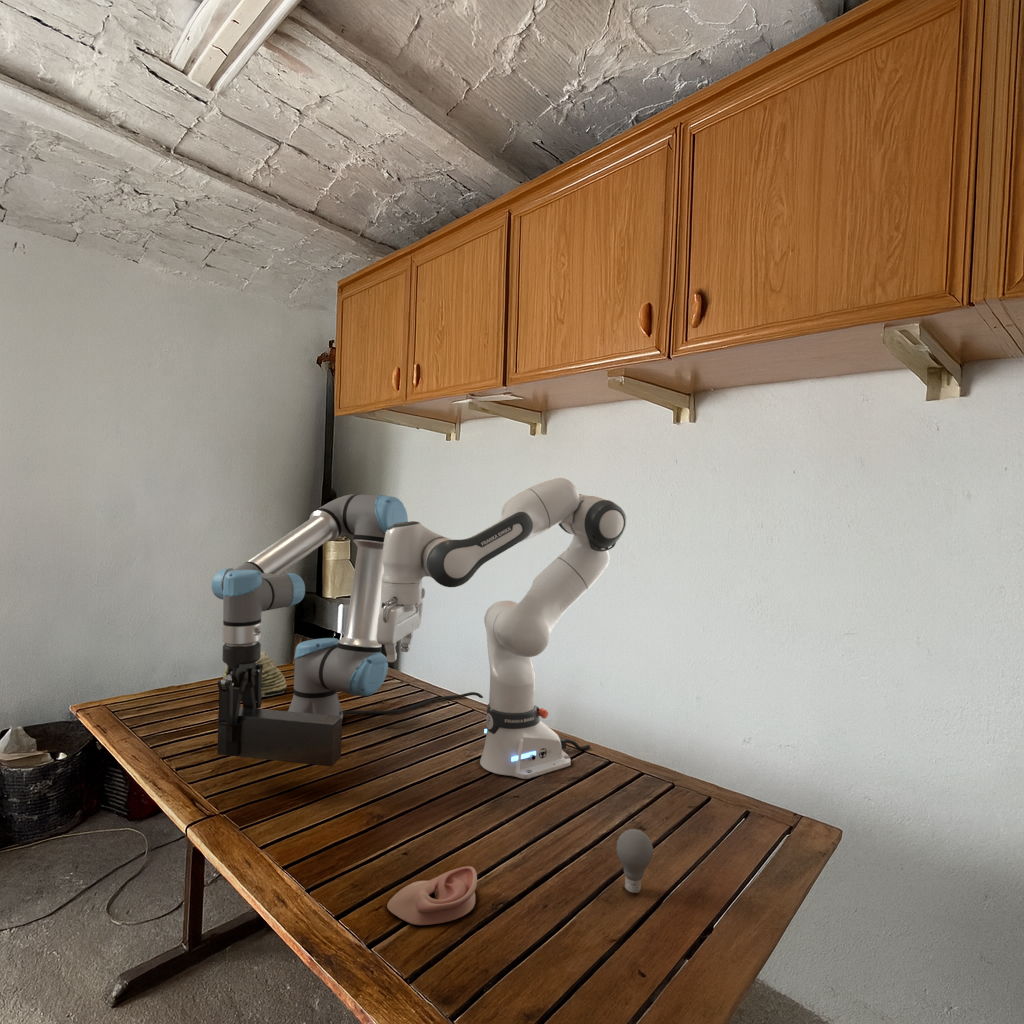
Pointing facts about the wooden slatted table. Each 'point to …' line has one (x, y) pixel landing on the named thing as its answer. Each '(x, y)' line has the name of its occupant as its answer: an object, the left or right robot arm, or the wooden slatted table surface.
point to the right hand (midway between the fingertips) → (398, 656)
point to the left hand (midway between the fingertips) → (240, 749)
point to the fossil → (269, 677)
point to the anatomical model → (436, 898)
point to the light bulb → (634, 857)
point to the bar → (287, 736)
